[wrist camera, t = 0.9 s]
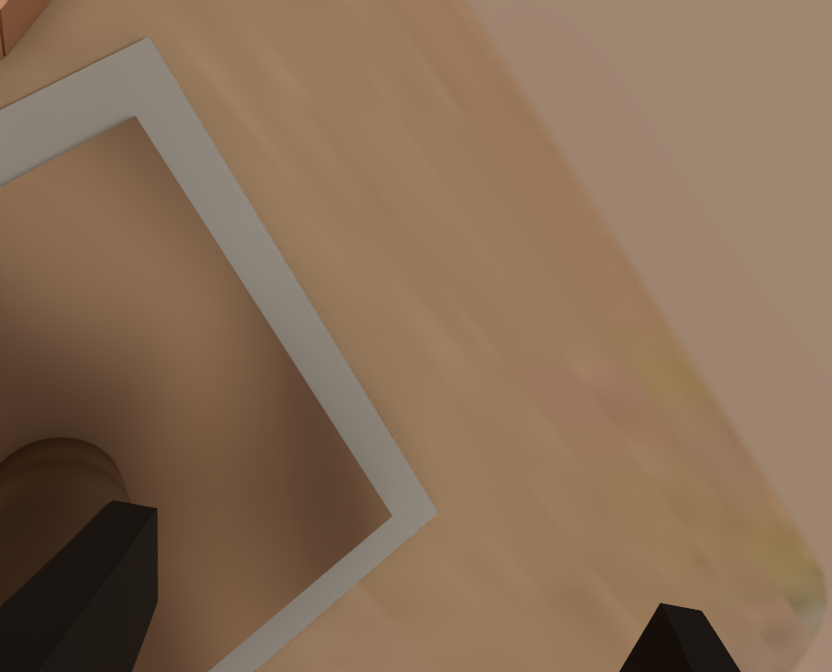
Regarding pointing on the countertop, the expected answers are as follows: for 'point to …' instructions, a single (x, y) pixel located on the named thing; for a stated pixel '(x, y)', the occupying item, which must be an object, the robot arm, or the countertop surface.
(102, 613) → the robot arm
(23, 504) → the lid
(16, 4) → the bowl
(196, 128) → the mat
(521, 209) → the countertop surface
